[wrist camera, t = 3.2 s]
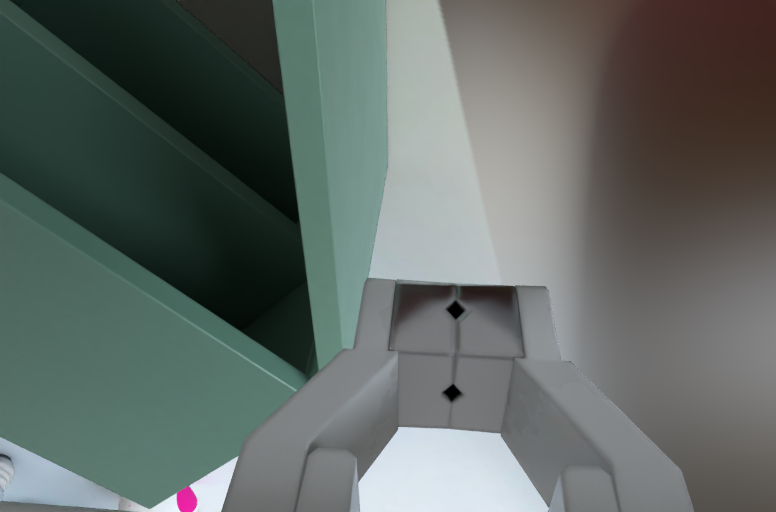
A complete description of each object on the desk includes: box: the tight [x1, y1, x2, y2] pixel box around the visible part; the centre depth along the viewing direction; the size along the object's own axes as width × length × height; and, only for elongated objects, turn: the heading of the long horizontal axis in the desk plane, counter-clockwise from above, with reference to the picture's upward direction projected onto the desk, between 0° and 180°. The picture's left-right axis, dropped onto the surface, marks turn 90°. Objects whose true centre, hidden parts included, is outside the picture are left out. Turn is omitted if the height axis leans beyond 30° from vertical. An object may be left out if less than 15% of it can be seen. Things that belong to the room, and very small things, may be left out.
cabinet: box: [0, 0, 318, 509], centre depth 29 cm, size 13×20×17 cm, turn 46°
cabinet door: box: [272, 0, 388, 372], centre depth 23 cm, size 5×20×17 cm, turn 1°
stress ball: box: [119, 486, 199, 512], centre depth 60 cm, size 8×8×7 cm
